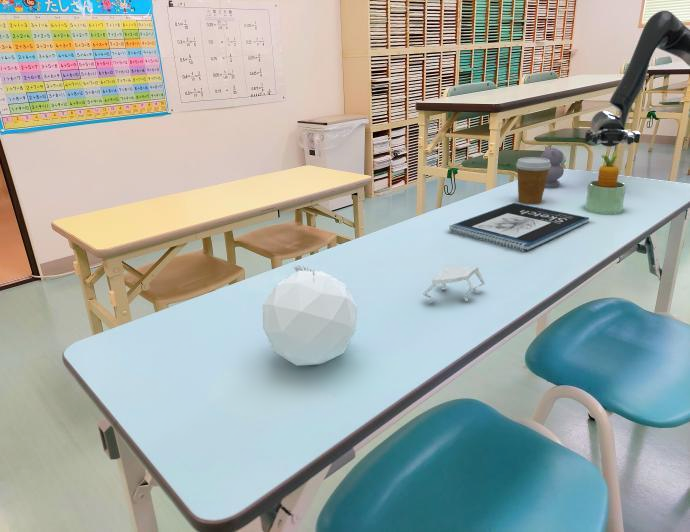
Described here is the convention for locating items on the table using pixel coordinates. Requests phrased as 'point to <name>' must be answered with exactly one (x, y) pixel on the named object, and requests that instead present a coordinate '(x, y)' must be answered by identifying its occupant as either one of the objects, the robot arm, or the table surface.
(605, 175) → the carrot
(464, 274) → the white legged piece
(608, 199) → the green cup
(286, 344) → the geodesic sphere
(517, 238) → the sketchbook
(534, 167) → the disposable coffee cup
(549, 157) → the cat figurine
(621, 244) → the table surface
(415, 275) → the table surface
